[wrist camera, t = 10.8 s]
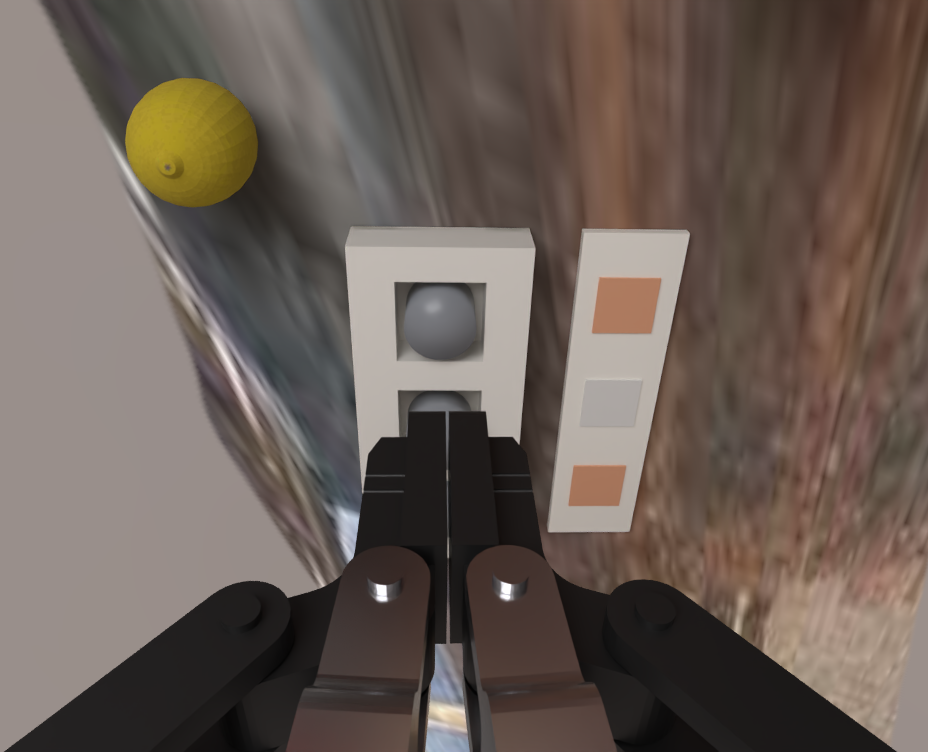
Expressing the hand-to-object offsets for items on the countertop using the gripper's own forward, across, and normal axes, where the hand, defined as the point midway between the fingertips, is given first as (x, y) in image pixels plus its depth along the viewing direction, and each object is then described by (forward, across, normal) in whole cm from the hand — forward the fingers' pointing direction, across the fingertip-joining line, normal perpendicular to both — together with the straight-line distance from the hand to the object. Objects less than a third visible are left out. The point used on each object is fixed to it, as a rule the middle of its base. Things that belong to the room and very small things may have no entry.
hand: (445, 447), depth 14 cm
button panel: (+27, 0, +17) cm, 32 cm away
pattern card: (+27, -11, +17) cm, 34 cm away
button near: (+26, 0, +10) cm, 28 cm away
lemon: (+27, +12, 0) cm, 30 cm away
